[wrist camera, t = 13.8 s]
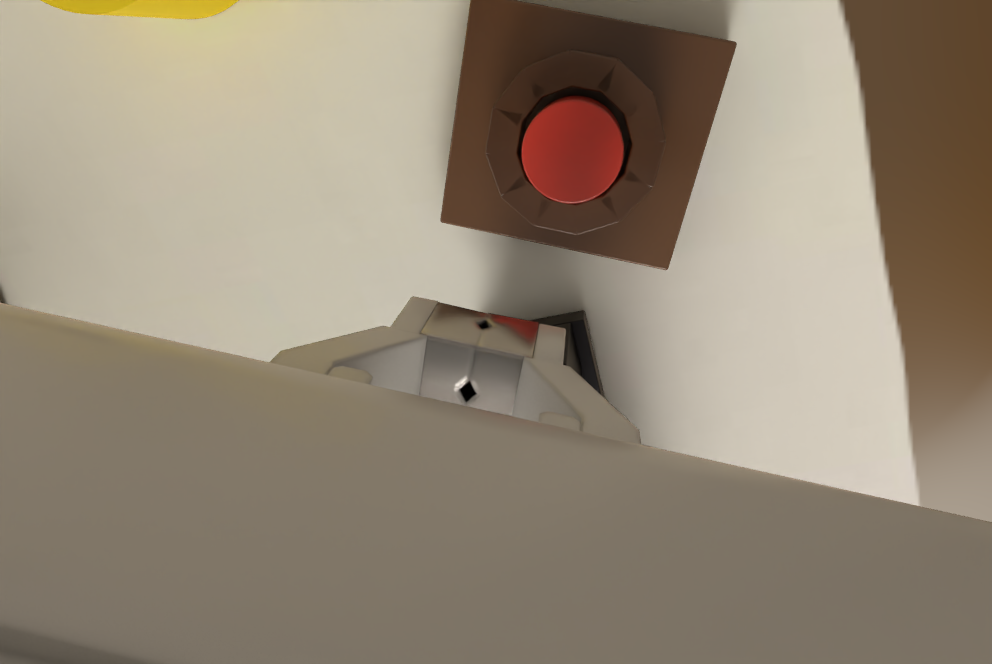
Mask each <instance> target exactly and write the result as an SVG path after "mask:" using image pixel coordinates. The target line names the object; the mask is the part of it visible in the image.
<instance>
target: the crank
mask: <svg viewBox="0 0 992 664" xmlns="http://www.w3.org/2000/svg"><path fill="white" fill-rule="evenodd" d="M41 1H43V2H45V3H47V4H49V5H51V6H54V7H56V8H59V9H62V10H65V11H70V12H74V13H81V14H95V15H115V16H135V17H155V18H175V19H199V18H206V17H209V16H213V15H216V14H218V13H220V12H222V11H224V10H226V9H227V8H229V7H230V6H232V5H233V4H235V3H236V2H237V1H239V0H41Z"/></svg>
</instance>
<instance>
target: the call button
mask: <svg viewBox="0 0 992 664" xmlns="http://www.w3.org/2000/svg"><path fill="white" fill-rule="evenodd" d="M623 156H624V145H623V138H622V133H621V129H620V126H619V124H618V122H617V120H616V118H615V117H614V115H613V114H612V112H611V111H610V110H609V109H608V108H607V107H605V106H604V105H603V104H601V103H600V102H598V101H596V100H594V99H592V98H588V97H584V96H568V97H563V98H560V99H557V100H555V101H553V102H551V103H550V104H548V105H547V106H546V107H544V108H543V109H542V110H541V111H540V112H539V113H538V114H537V115H536V117H535V118H534V119H533V120H532V122H531V123H530V125H529V126H528V128H527V130H526V133H525V135H524V138H523V142H522V163H523V167H524V170H525V173H526V175H527V177H528V179H529V181H530V182H531V183H532V185H533V186H534V187H535V188H536V189H537V190H538V191H539V192H540V193H541V194H543V195H544V196H546V197H547V198H549V199H552V200H554V201H557V202H561V203H567V204H575V203H582V202H586V201H589V200H591V199H594V198H595V197H597V196H599V195H600V194H602V193H603V192H605V191H606V190H607V189H608V188H609V187H610V186H611V184H612V183H613V182H614V180H615V179H616V177H617V175H618V173H619V171H620V169H621V166H622V162H623Z"/></svg>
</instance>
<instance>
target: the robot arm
mask: <svg viewBox="0 0 992 664" xmlns="http://www.w3.org/2000/svg"><path fill="white" fill-rule="evenodd" d="M538 325H539V327H538ZM565 336H566V329H565V328H560V327H555V326H550V325H544V324H539V323H538V322H532V321H527V320H522V319H517V318H511V317H506V316H501V315H496V314H491V313H488V314H487V313H483V312H478V311H474V310H470V309H465V308H461V307H457V306H452V305H448V304H444V303H439V302H438V301H435V300H429V299H424V298H419V297H411V298H410V300H409V301H408V303H407V304H406V305H405V307H404V308H403V310H402V311H401V313H400V314H399V315H398V317H397V318H396V320H395V321H394V322H393V324H392V325H391V327H386V326H380V327H376V328H372V329H368V330H364V331H360V332H356V333H352V334H348V335H344V336H339V337H335V338H331V339H327V340H323V341H319V342H315V343H311V344H307V345H303V346H299V347H294V348H290V349H286V350H282V351H280V352H279V353H278V354H277V355H276V356H275V357H274V358H273V359H272V360H271V361H270V362H265V361H261V360H256V359H251V358H247V357H242V356H238V355H233V354H229V353H224V352H220V351H215V350H211V349H206V348H202V347H197V346H193V345H188V344H184V343H179V342H175V341H170V340H166V339H161V338H157V337H152V336H148V335H143V334H139V333H134V332H130V331H125V330H121V329H116V328H112V327H107V326H103V325H98V324H94V323H89V322H85V321H80V320H76V319H71V318H67V317H62V316H58V315H53V314H49V313H44V312H40V311H35V310H31V309H26V308H22V307H17V306H13V305H8V304H4V303H1V302H0V664H992V522H987V521H983V520H979V519H974V518H970V517H965V516H960V515H956V514H951V513H947V512H942V511H938V510H934V509H929V508H924V507H920V506H916V505H911V504H907V503H902V502H898V501H893V500H889V499H884V498H880V497H875V496H871V495H866V494H862V493H857V492H852V491H848V490H843V489H839V488H834V487H830V486H825V485H821V484H816V483H812V482H807V481H803V480H798V479H794V478H789V477H785V476H780V475H776V474H771V473H767V472H762V471H758V470H753V469H749V468H744V467H740V466H735V465H731V464H726V463H722V462H717V461H713V460H708V459H704V458H699V457H695V456H690V455H686V454H681V453H676V452H672V451H667V450H663V449H658V448H654V447H649V446H645V445H641V441H640V433H639V430H638V429H637V428H636V427H635V426H634V425H633V424H632V423H631V422H630V421H629V420H628V419H626V418H625V417H624V416H623V415H622V414H621V413H620V412H619V411H618V410H617V409H616V408H615V407H613V406H612V405H611V404H610V403H609V402H608V401H607V400H606V399H605V398H604V397H603V396H601V395H600V394H599V393H598V392H597V391H596V390H595V389H594V388H593V387H592V386H591V385H589V384H588V383H587V382H586V381H585V380H584V379H583V378H582V377H581V376H580V375H579V374H578V373H576V372H575V371H574V370H573V369H572V368H571V367H570V366H566V365H563V359H564V348H565Z"/></svg>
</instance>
